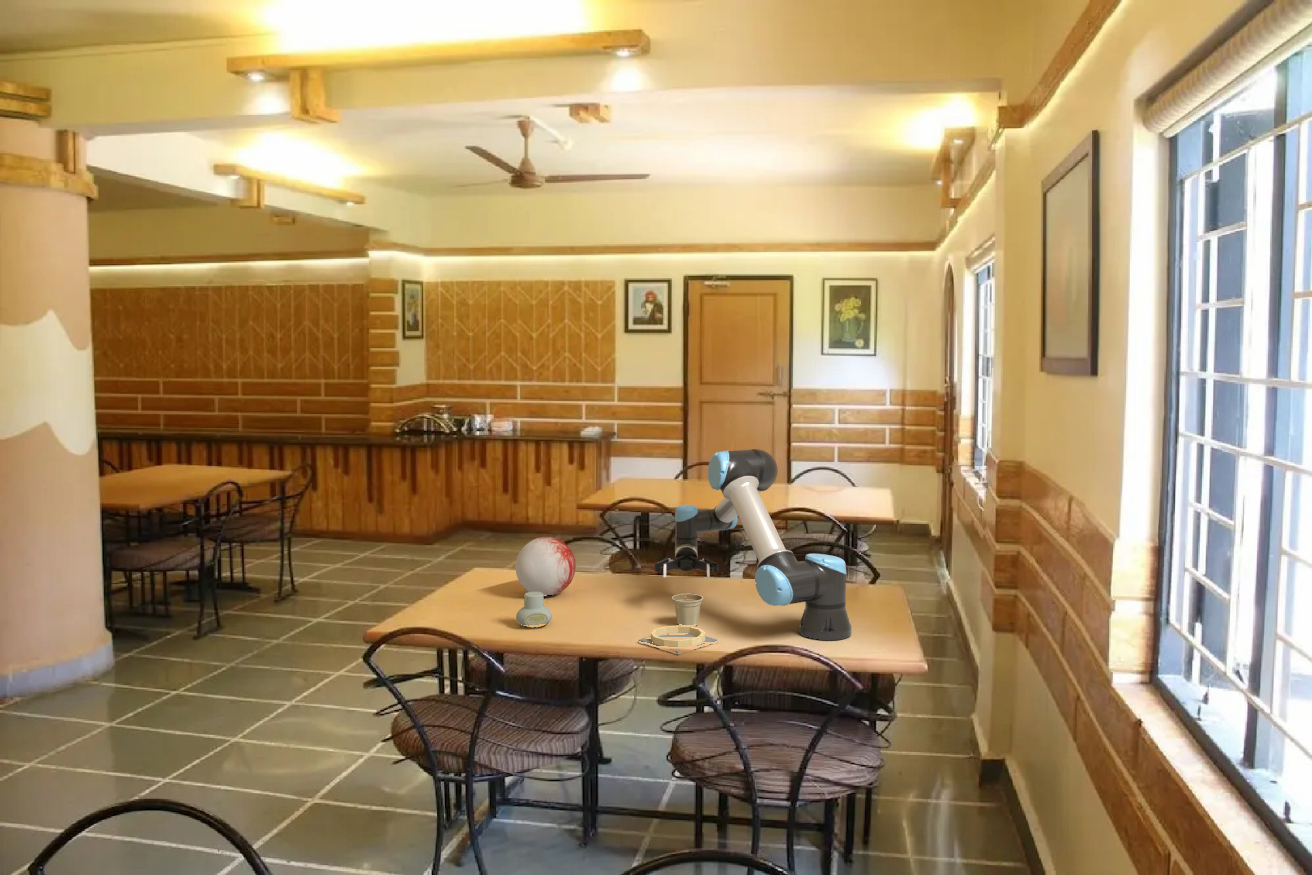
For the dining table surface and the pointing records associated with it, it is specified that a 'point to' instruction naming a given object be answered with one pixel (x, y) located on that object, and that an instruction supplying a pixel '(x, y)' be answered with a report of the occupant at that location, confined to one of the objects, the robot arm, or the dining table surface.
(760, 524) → the robot arm
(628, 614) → the dining table surface
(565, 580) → the decorative orb
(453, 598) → the dining table surface
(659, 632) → the collar plate
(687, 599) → the flower pot
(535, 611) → the air freshener
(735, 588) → the dining table surface
